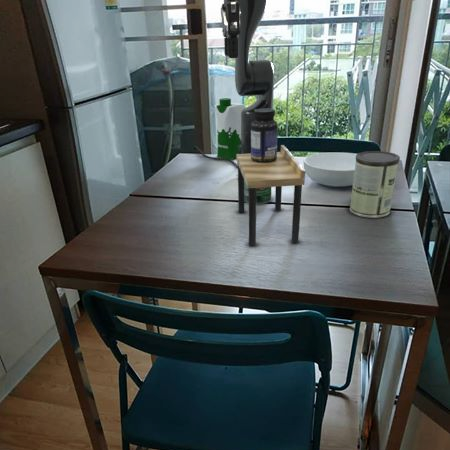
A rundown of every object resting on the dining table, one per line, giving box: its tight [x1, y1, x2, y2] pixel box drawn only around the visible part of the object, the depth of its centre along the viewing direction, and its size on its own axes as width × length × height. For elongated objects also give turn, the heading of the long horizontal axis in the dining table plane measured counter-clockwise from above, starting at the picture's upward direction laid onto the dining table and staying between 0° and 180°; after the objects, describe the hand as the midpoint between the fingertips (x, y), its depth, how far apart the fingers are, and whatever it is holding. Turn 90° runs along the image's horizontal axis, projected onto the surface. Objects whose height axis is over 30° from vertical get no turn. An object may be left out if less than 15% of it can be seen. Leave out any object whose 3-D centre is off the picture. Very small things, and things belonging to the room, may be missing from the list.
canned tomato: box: [244, 180, 272, 205], centre depth 122 cm, size 8×8×11 cm
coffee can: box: [349, 150, 401, 219], centre depth 111 cm, size 10×10×14 cm
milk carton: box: [213, 97, 245, 161], centre depth 160 cm, size 9×9×20 cm
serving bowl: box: [303, 151, 358, 188], centre depth 133 cm, size 21×21×7 cm
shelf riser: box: [235, 144, 306, 247], centre depth 104 cm, size 22×12×17 cm, turn 5°
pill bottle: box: [251, 108, 279, 163], centre depth 101 cm, size 6×6×11 cm
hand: (231, 56), depth 101 cm, fingers open, 8 cm apart
